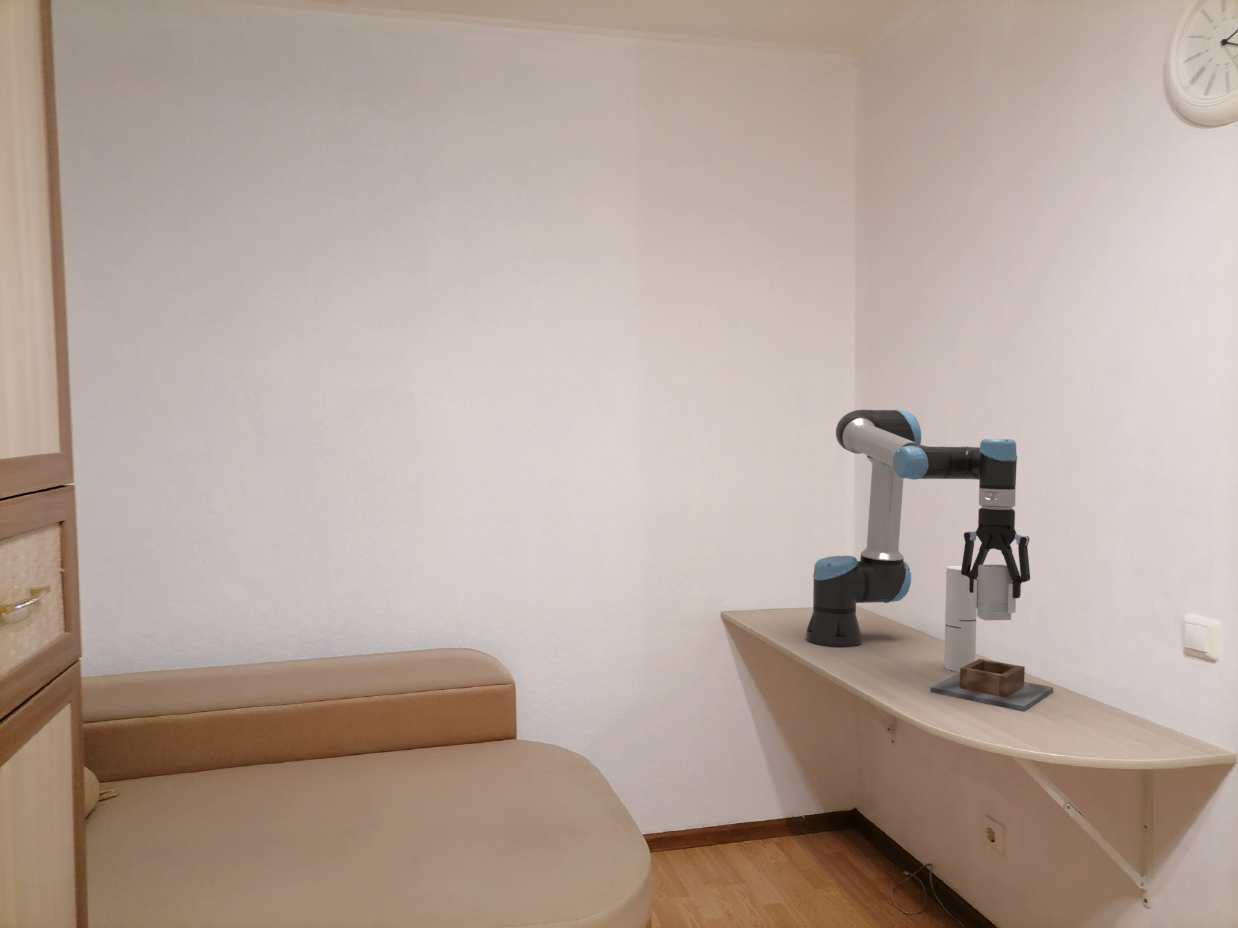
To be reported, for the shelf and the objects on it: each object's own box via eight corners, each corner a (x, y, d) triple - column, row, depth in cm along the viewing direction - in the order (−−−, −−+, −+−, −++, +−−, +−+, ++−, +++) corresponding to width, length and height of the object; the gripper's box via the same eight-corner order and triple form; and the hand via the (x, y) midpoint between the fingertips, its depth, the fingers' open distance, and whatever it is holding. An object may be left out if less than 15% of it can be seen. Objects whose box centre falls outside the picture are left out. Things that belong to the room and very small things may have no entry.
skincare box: (1001, 616, 200) (1002, 563, 200) (1012, 620, 195) (1013, 566, 195) (975, 617, 199) (976, 563, 199) (985, 621, 195) (987, 566, 194)
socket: (930, 691, 197) (930, 667, 197) (964, 674, 212) (964, 652, 212) (1024, 711, 184) (1024, 684, 184) (1053, 691, 199) (1053, 667, 198)
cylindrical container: (977, 673, 213) (980, 570, 213) (946, 671, 215) (949, 569, 214) (972, 665, 220) (974, 566, 220) (941, 664, 222) (944, 565, 221)
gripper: (946, 505, 200) (943, 606, 201) (1038, 511, 187) (1035, 618, 188) (958, 504, 206) (956, 601, 207) (1049, 509, 193) (1046, 614, 193)
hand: (994, 609), depth 197 cm, fingers closed on skincare box, 7 cm apart
